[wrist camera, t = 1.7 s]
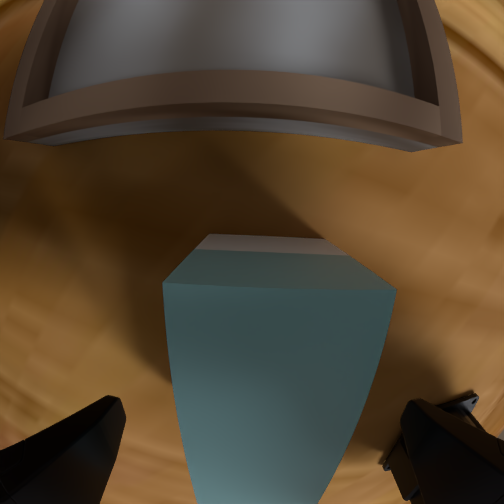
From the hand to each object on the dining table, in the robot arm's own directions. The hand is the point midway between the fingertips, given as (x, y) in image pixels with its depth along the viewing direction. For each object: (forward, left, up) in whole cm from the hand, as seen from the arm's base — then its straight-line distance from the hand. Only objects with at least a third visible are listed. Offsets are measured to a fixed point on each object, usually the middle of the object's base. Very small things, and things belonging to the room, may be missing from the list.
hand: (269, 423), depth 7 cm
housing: (0, 0, -5) cm, 5 cm away
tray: (+2, -14, -5) cm, 15 cm away
